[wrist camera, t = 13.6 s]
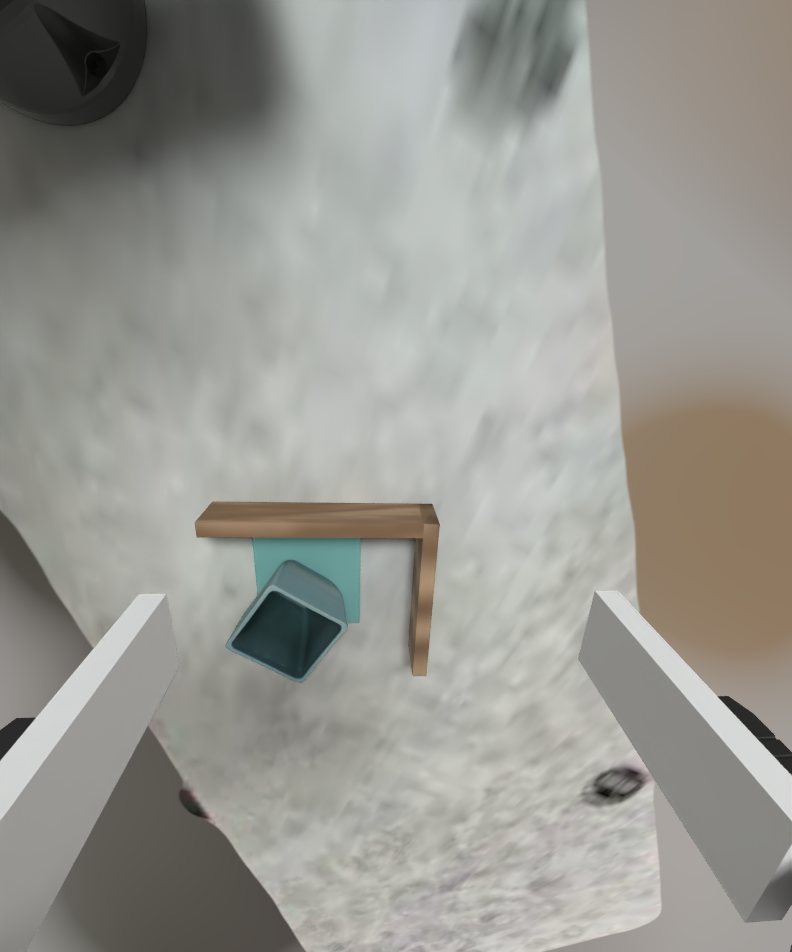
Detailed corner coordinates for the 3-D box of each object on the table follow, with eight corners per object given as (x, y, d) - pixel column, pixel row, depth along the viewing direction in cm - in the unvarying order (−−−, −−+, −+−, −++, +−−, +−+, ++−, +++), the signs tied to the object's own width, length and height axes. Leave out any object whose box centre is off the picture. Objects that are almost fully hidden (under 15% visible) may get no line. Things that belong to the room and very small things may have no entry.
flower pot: (287, 536, 46) (269, 584, 38) (352, 574, 49) (349, 627, 40) (247, 591, 48) (222, 648, 40) (311, 625, 51) (301, 685, 42)
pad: (253, 534, 46) (252, 536, 46) (360, 535, 47) (360, 536, 47) (260, 621, 50) (260, 624, 50) (359, 620, 51) (359, 622, 51)
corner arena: (212, 501, 45) (194, 522, 40) (432, 504, 47) (439, 524, 42) (230, 648, 52) (216, 680, 47) (420, 644, 53) (426, 675, 49)
